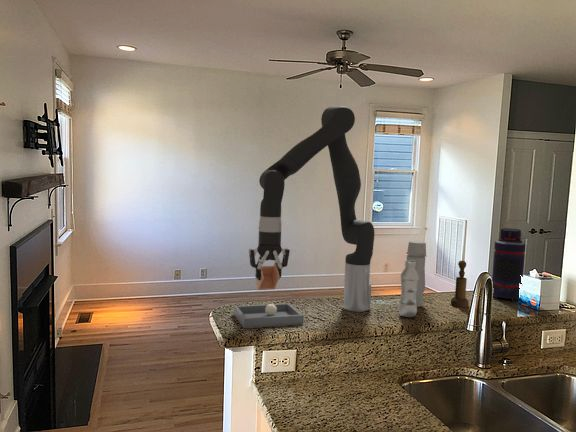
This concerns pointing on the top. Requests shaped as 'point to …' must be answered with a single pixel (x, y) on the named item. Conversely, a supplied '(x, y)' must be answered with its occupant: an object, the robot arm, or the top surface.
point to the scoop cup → (268, 277)
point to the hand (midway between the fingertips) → (268, 279)
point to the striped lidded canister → (508, 264)
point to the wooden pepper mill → (460, 288)
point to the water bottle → (418, 266)
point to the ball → (271, 309)
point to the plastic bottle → (408, 290)
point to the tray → (267, 316)
